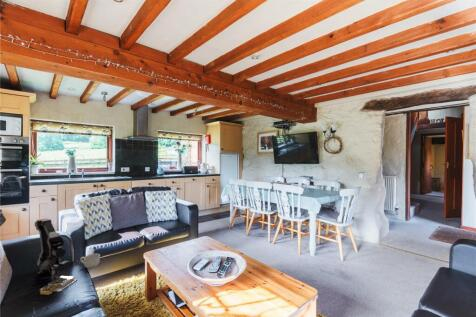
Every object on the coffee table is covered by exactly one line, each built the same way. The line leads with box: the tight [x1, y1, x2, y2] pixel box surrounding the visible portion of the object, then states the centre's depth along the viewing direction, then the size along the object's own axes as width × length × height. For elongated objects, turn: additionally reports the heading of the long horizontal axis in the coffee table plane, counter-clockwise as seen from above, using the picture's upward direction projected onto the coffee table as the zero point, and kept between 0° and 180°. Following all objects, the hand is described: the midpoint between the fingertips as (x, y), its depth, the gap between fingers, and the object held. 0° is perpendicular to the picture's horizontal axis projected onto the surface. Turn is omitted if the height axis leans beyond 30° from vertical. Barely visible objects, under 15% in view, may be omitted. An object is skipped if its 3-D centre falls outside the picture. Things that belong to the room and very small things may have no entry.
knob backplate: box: [39, 275, 77, 296], centre depth 153 cm, size 14×17×2 cm
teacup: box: [79, 253, 101, 269], centre depth 181 cm, size 14×11×8 cm
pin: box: [51, 265, 58, 281], centre depth 163 cm, size 4×4×9 cm
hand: (54, 276), depth 163 cm, fingers closed on pin, 3 cm apart
